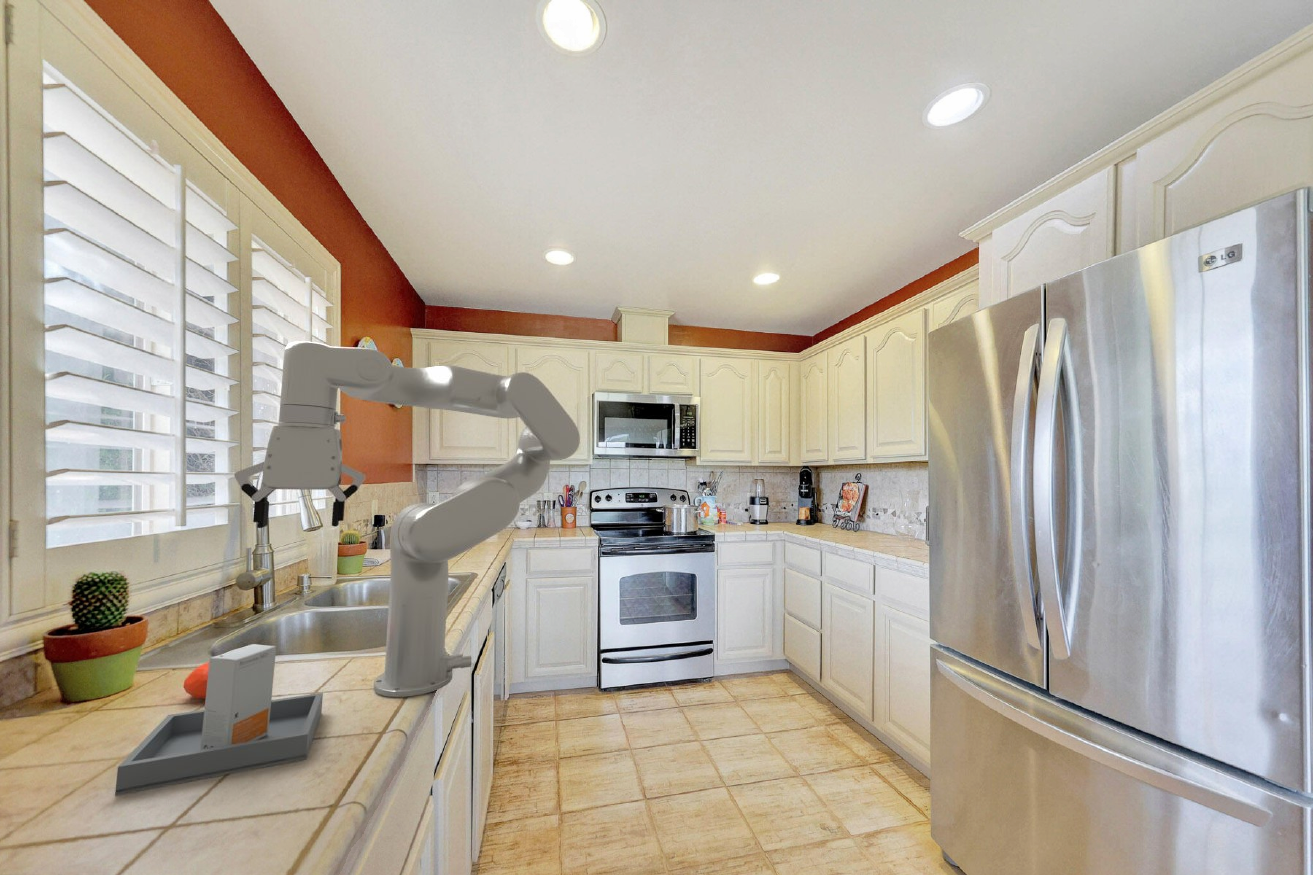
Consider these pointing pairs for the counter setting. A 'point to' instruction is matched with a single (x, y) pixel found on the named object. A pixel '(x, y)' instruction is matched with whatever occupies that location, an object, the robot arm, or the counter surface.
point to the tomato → (197, 682)
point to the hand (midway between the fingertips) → (299, 526)
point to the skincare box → (238, 696)
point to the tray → (180, 759)
